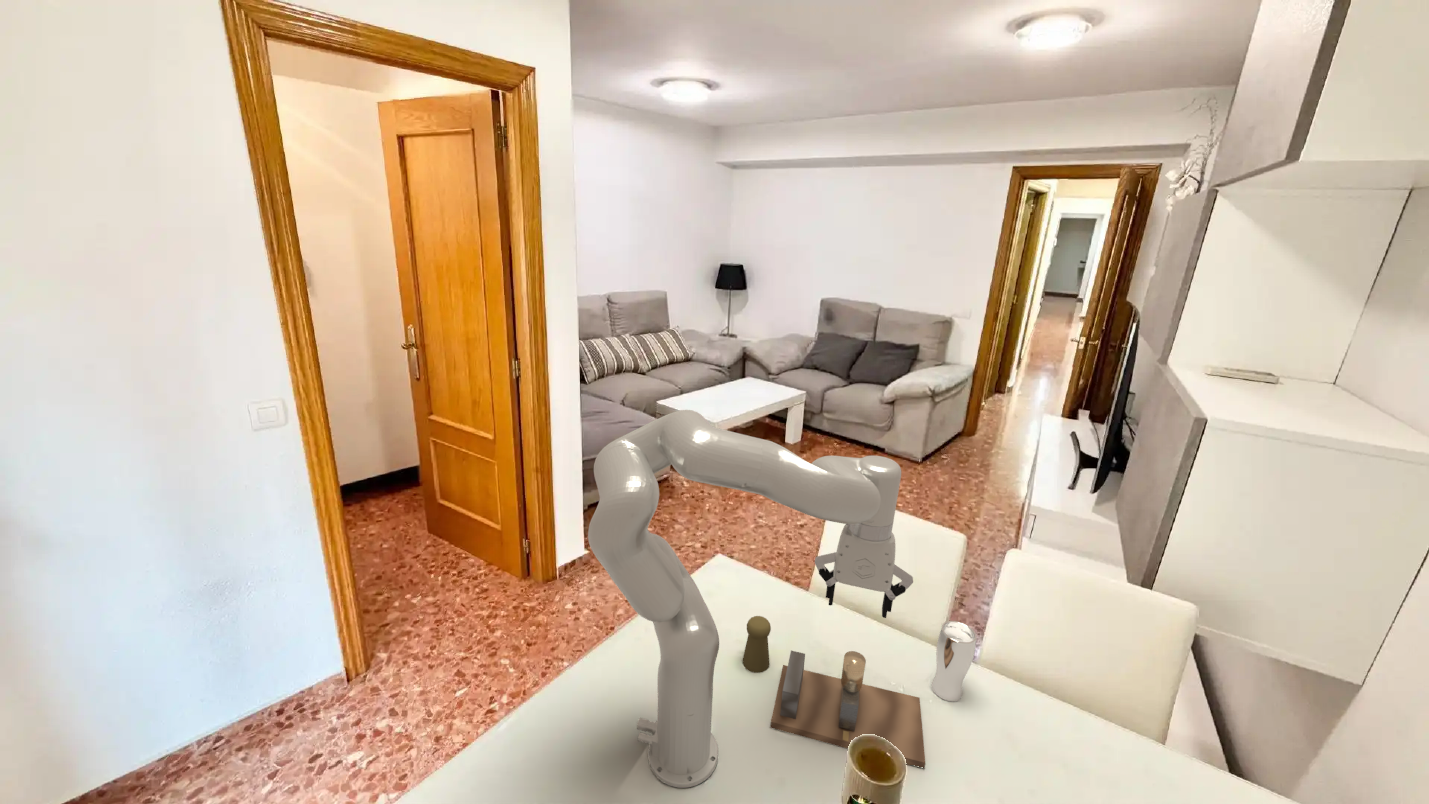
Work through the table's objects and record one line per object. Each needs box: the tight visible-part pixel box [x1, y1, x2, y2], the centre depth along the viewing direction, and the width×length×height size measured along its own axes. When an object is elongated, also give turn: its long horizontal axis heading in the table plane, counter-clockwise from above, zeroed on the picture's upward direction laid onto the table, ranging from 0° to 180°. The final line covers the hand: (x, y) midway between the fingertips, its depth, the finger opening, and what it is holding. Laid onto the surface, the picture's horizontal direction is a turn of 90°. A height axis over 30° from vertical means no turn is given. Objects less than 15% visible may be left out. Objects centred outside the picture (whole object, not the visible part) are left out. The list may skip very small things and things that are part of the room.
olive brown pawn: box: [741, 615, 772, 674], centre depth 120 cm, size 6×6×11 cm
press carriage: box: [839, 650, 867, 731], centre depth 107 cm, size 4×10×12 cm, turn 164°
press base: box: [769, 650, 926, 769], centre depth 108 cm, size 28×15×8 cm, turn 74°
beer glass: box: [930, 620, 978, 703], centre depth 114 cm, size 7×7×15 cm
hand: (857, 607), depth 102 cm, fingers open, 9 cm apart
